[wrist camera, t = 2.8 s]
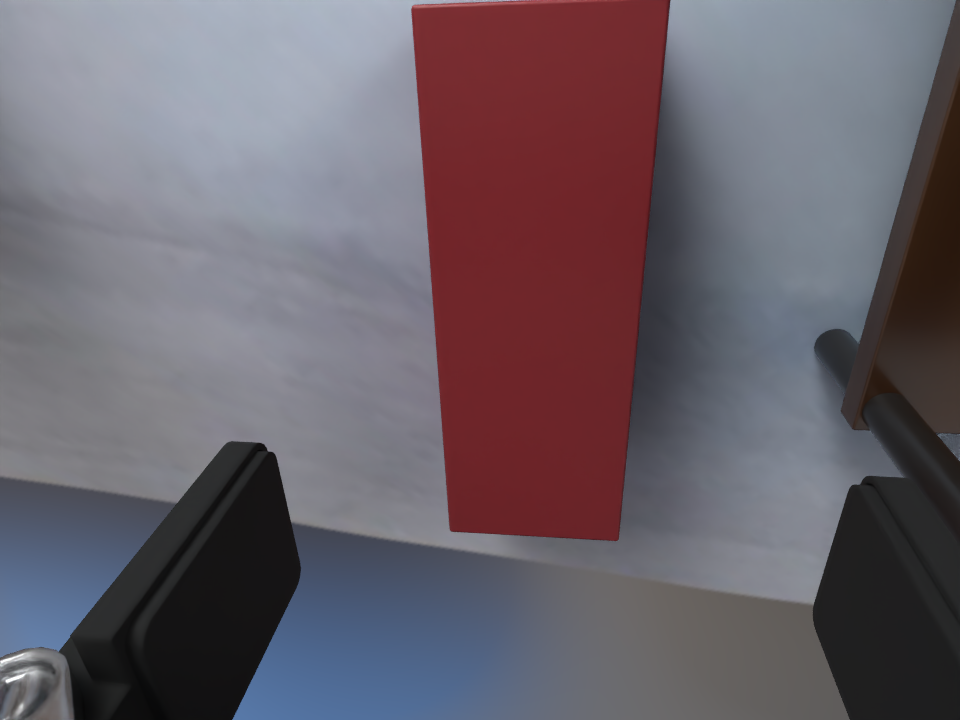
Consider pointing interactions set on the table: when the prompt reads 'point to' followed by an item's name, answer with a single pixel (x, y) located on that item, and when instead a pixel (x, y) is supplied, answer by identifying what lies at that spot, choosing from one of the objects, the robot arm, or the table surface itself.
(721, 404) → the table surface
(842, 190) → the table surface
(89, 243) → the table surface
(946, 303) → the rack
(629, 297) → the red rectangular block
